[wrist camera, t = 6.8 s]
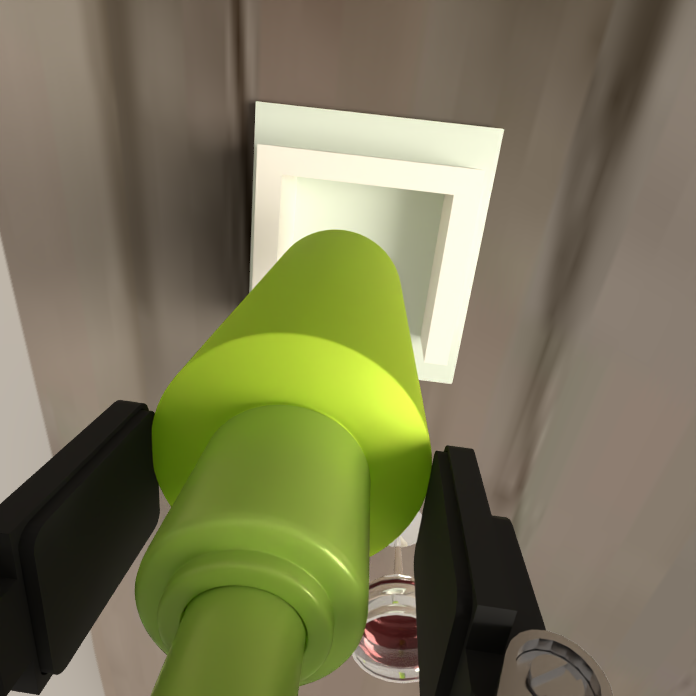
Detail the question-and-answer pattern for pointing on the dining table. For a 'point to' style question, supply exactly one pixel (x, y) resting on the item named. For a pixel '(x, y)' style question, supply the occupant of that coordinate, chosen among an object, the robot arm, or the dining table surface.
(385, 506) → the soap dispenser
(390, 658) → the wineglass
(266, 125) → the u rest
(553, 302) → the dining table surface
